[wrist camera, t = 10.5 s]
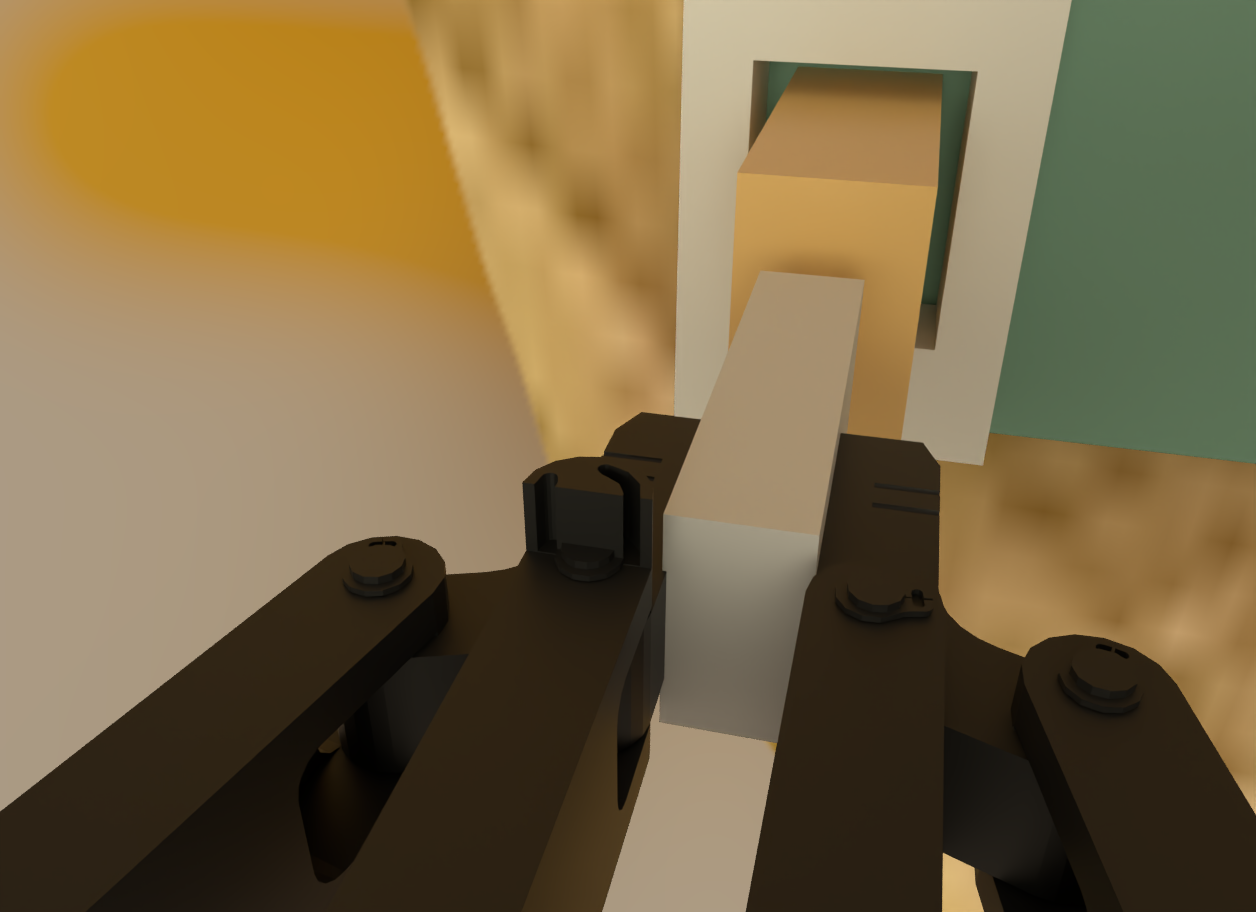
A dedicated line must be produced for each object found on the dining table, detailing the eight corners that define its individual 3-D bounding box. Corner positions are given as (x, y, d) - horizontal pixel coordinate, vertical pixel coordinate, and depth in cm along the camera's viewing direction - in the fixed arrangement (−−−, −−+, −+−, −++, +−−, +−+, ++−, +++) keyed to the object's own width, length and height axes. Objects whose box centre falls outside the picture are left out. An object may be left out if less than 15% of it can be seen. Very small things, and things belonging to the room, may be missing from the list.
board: (1954, -119, 19) (2139, -102, 16) (1625, 485, 25) (1715, 577, 22) (720, -135, 23) (686, -125, 20) (701, 381, 29) (673, 446, 26)
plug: (942, 73, 23) (937, 187, 16) (909, 309, 26) (893, 489, 19) (798, 66, 24) (737, 172, 17) (781, 297, 26) (722, 466, 20)
